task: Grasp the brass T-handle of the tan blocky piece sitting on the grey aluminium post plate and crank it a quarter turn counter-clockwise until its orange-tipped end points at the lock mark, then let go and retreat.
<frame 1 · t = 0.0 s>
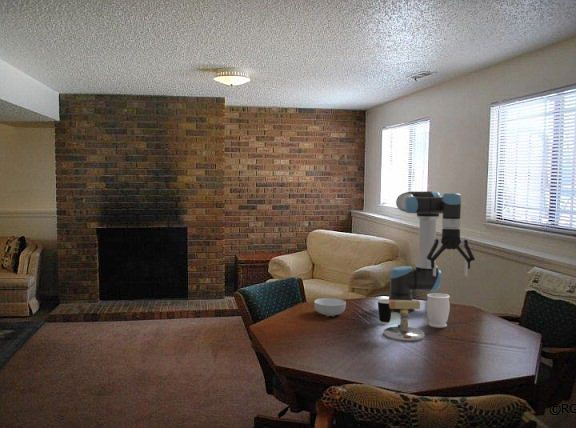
hand: (450, 276, 215), 28 cm above the table, fingers open, 13 cm apart
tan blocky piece: (404, 314, 219), point 10 cm above the table, hinge at 0.0°
cereal bowl: (329, 315, 255), on the table
jar: (437, 326, 236), on the table
dixie cup: (384, 323, 240), on the table
post base: (403, 335, 220), on the table
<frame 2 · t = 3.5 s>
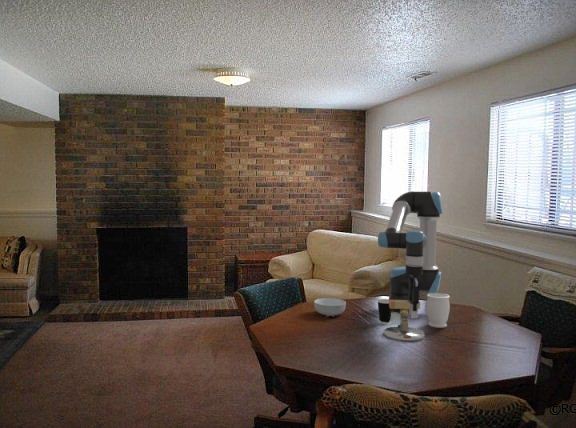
hand: (413, 316, 219), 9 cm above the table, fingers closed on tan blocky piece, 4 cm apart
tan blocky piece: (404, 314, 219), point 10 cm above the table, hinge at 0.0°, touching gripper
everything else where it was.
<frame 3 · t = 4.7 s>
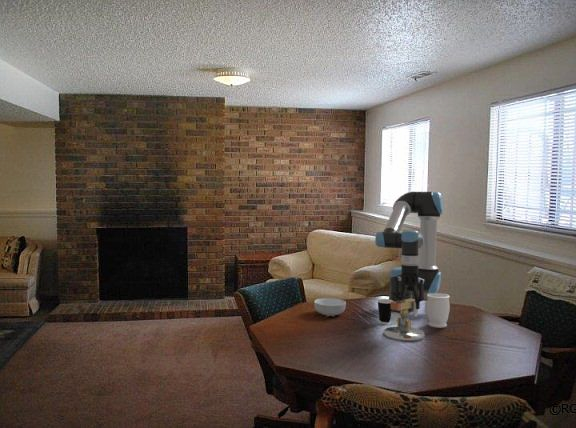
hand: (409, 315, 221), 9 cm above the table, fingers closed on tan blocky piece, 5 cm apart
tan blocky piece: (404, 314, 219), point 10 cm above the table, hinge at 37.9°, touching gripper
everything else where it was.
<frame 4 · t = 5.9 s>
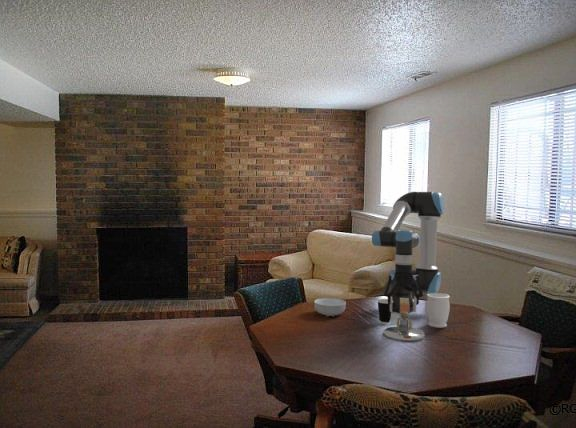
hand: (402, 311, 223), 10 cm above the table, fingers open, 10 cm apart
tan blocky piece: (404, 314, 219), point 10 cm above the table, hinge at 80.9°
everything else where it was.
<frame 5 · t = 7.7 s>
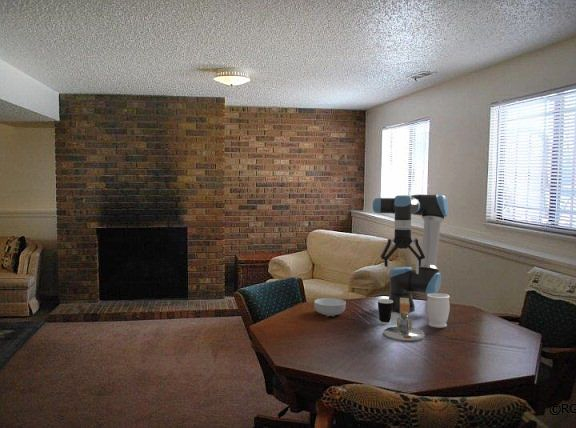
hand: (402, 273, 228), 27 cm above the table, fingers open, 13 cm apart
nothing on the table moved.
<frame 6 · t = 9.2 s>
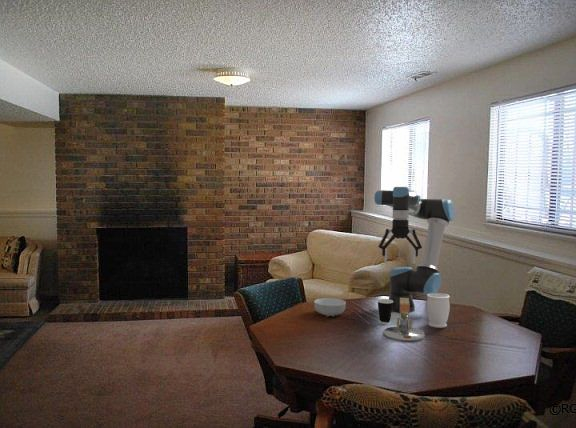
hand: (399, 263, 233), 31 cm above the table, fingers open, 13 cm apart
nothing on the table moved.
at the end: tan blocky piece at +81° (first picture: +0°); the gripper is holding nothing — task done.
